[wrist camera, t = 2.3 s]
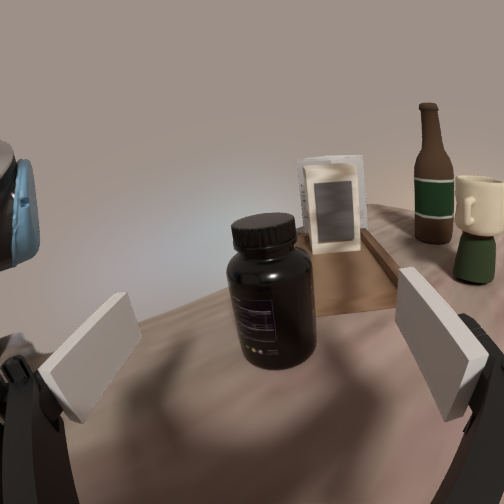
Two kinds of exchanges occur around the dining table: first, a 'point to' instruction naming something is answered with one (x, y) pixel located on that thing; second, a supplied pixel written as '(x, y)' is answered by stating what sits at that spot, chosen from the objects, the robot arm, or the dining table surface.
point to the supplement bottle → (272, 292)
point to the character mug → (478, 226)
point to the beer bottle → (433, 183)
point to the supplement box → (333, 159)
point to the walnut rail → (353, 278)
